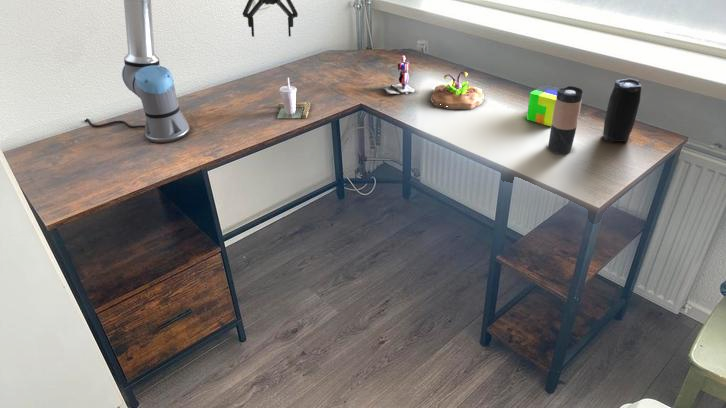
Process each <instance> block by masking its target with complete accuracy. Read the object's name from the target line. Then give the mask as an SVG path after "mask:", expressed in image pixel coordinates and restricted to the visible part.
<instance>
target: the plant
mask: <svg viewBox="0 0 726 408" xmlns="http://www.w3.org/2000/svg"><path fill="white" fill-rule="evenodd" d="M462 75H463V76H464V77H468V73H467V72H466V71H461V72H460V73H459V74H458V75H457V78H455V76H453V75H451V74H449V73H448V74H445V75H444V76H443V79H444V80H446V79H447V78H448V77H450V78H451V80H450V82H447V84H440V85H437V86H435V88H434V90H433V92H432V94H431V95H430V101H431V103H432V104H433V105H434V106H435V107H439V108H440V107H441V108H445V109H447V110H473V109H475V107H479V106H480V105H481V104H482V103H483V101H484V98H485V95H484V93H483V89H482V88H479V87H476V86H474V85H471V84H469V81H464V82H462V83H461V76H462ZM431 99H432V100H431ZM482 99H483V100H482ZM432 101H433V102H432ZM440 104H441V105H440ZM446 106H448V107H446Z"/></svg>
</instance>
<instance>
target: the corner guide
mask: <svg viewBox="0 0 726 408" xmlns="http://www.w3.org/2000/svg"><path fill="white" fill-rule="evenodd" d="M278 108H280V110H279V112H278V114H277V117H276V119H277V120H279V119H280V120H281V119H282V120H283V119H284V120H285V119H288V120H289V119H301V118H302V119H308V115H309V111H310V108H311V102H310V101H296V112H295V114H293V115H287V114H286V112H285V108H284V104H283V102H279V103H278Z"/></svg>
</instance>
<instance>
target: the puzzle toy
mask: <svg viewBox="0 0 726 408" xmlns="http://www.w3.org/2000/svg"><path fill="white" fill-rule="evenodd" d="M559 88H560V87H555V86H551V85H548V84H543V85H541V86H539V87H537V88H536V89H535V90H533V91H530V93H529V99H528V100H529V101H528V108H527V114H526V120H527V121H530V122H531V121H532V122H534V123H538V124H540V125H543V126H548V127H551V124H552V118H553V113H554V107H555V102H556V96H557V91H558V89H559Z"/></svg>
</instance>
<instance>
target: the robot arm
mask: <svg viewBox="0 0 726 408" xmlns="http://www.w3.org/2000/svg"><path fill="white" fill-rule="evenodd" d="M254 1H255V0H248V1H246V2H247V3H246V5H245V7H244V9H243V12H242V16H243V18H246V19H247V26H248V28H251V31H250V32H251V37H253V38H254V37H255V25H254V24H255V23H254V16H255V14H256V13H257V12H258V11H259V9H260V8H261V7H262V6H263V5H264V4H265V5H277V6H278V7H279V8H280V9H281V10H282V11H283V13H285V15H286V16H287V27H288V28H287V29H288V30H287V31H288V37H292V33H291V31H292V30H291V28H294V19H295V18H298V16H299V14H298V11H297V9H296V7H295V5H294V4H293V2H292V0H285V2H286V3H287V5H288V7H287V6H286V5H285V4H284V2H282V0H258V1H257V3H255V5H254V6H253V7H252V5H253V3H254ZM123 7H124V8H123V9H124V19H125V31H126V44H127V54H126V55H125V56H124V57H123V61H124V66H123V68H122V70H121V78H122V81H123V83H124V85H125V87H126V88H127V89H128V90H129V91H130V92H132V93H133V94H134V95H135V96H136V97H137V98H139V99H140V100H141V104H142V107H143V111H144V114H145V124H139V125H130V124H129V123H128V122H127V121H125V120H114V121H110V122H105V123H102V124H93V123H92V122H91V121H90V119H89V118H85V119H86V120H85V119H84V123H88V125H89V126H90V127H93V128H103V127H107V126H110V125H114V124H124V125H125V126H126V127H128V128H130V129H139V128H140V129H141V128H142V129H143V128H144V135H145V139H146V140H147V141H148V142H150V143H155V144H166V143H167V144H169V143H172V142H176V141H179V140H181V139H183V138H185V137H187V136H188V135H189V133H190V132H191V128H190V125H189V123H188V121H187V119H186V118H185V116H184V115H183V113H182V111H181V108H180V105H179V101H178V96H177V92H176V87H175V84H174V83H175V82H174V78H173V76H172V73H171V71H170V70H169V69H168V68H167V67H165V66H162V65H160V63H161V62H160V58H159V57H158V56H157V55H156V54H155V43H154V42H155V40H154V26H153V10H152V0H123ZM251 8H252V9H251ZM288 8H289V9H290V10H289V9H288ZM250 9H251V10H250Z"/></svg>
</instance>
